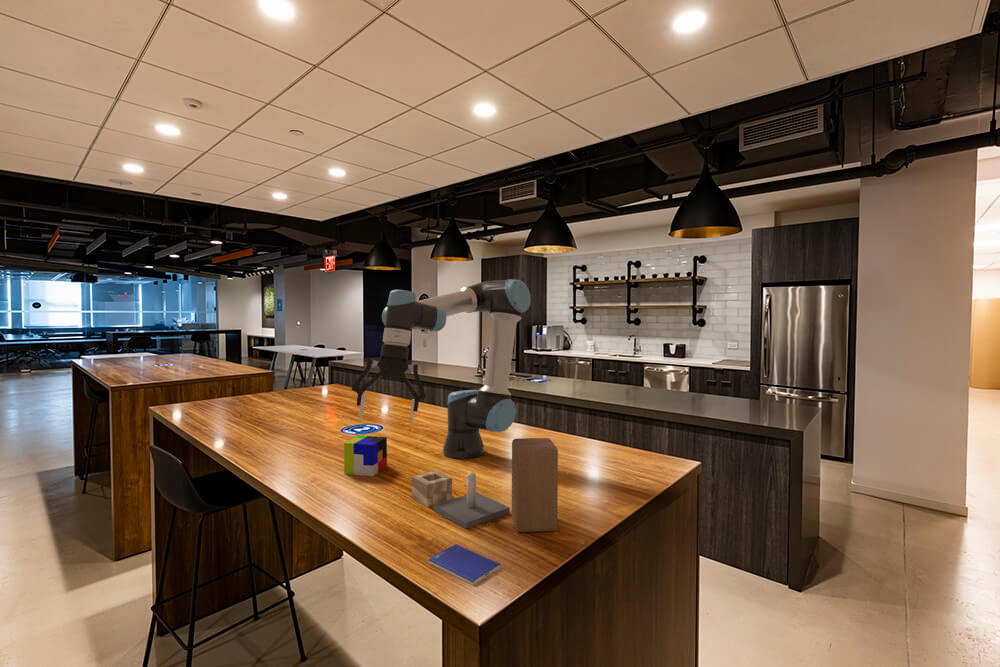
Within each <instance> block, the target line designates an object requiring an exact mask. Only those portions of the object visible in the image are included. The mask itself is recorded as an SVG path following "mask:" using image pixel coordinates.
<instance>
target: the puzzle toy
mask: <svg viewBox="0 0 1000 667" xmlns="http://www.w3.org/2000/svg"><path fill="white" fill-rule="evenodd" d="M387 442H388V437H387V436H378V435H377V436H376V435H375V436H374V435H360V434H359V435H357V436H356V437H353V438H351V439H349V440H348V441H345V442H343V462H344V463H343V473H344V475H357V476H366V477H367V476H368V477H374V476H375V475H377V474H378V473H379V472H381V471H382V470H384V469H386V468H387V467H388V447H387V446H388V443H387Z"/></svg>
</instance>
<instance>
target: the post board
mask: <svg viewBox="0 0 1000 667" xmlns="http://www.w3.org/2000/svg"><path fill="white" fill-rule="evenodd" d="M432 507H433V511H434V512H435V513H438V515H440V516H442V517H444V518H446V519H448V520H449V521H451V522H453V523H455V524H456V525H458V526H460V527H461V528H463V529H465V530H467V529H470V528H472V527H475V526H478V525H480V524H484V523H486V522H489V521H491V520H494V519H497V518H500V517H503V516H506V515H508V514H510V512H511V511H510V507H509V506H508V505H506V504H503V503H501V502H500V501H497V500H495V499H493V498H491V497H488V496H485V495H484V494H482V493H479V492H477V476H476V474H475V473H474V472H468V473H467V475H466V494H465V495H463V496H462V495H461V496H459V497H455V498H452V499H451V500H448V501H445V502H441V503H438V504H435V505H432Z"/></svg>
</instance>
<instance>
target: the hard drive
mask: <svg viewBox="0 0 1000 667" xmlns="http://www.w3.org/2000/svg"><path fill="white" fill-rule="evenodd" d="M428 564H430V565H431V566H434V567H435V568H437V569H440V570H441V571H443V572H446V573H448V574H450V575H452V576H454V577H455V578H458V579H460V580H462V581H464V582H465V583H468V584H470V585H471V586H474V585H475V584H478V583H479V582H481V581H482V580H483V579H485V578H487V577H488V576H490V575H491V574H493V573H495V572H496V571H497V570H500V569H501V568H502V567H501V563H499V562H497V561H494V560H492V559H490V558H488V557H485V556H483V555H482V554H479V553H477V552H475V551H472V550H470V549H468V548H467V547H463V546H462V545H459V544H452V545H451V546H450V547H448V548H446V549H444V550H442V551H440V552H438V553H436V554H434V555H432V556H431V557H429V559H428Z"/></svg>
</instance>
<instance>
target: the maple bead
mask: <svg viewBox="0 0 1000 667" xmlns="http://www.w3.org/2000/svg"><path fill="white" fill-rule="evenodd" d="M411 499H412V500H414V501H416V502H418V503H419V504H421V505H423V506H425V507H427V508H429V507H433V505H435V504H438V503H441V502H445V501H448V500H451V499H453V477H452V476H449V475H446V474H444V473H442V472H440V471H437V470H433V471H430V472H425V473H422V474H418V475H415V476H414V475H413V476H411Z"/></svg>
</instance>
